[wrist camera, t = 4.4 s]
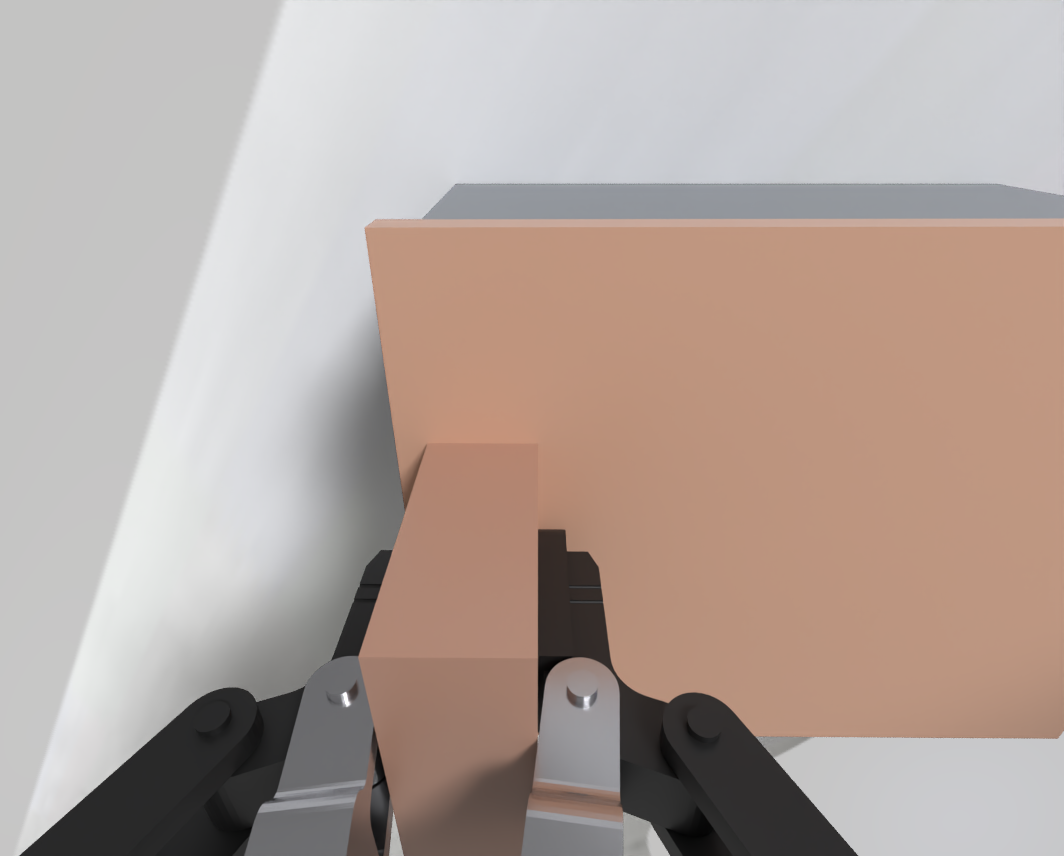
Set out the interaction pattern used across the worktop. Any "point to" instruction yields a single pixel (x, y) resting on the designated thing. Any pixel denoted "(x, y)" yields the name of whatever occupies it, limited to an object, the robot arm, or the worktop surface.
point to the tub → (745, 201)
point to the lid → (716, 483)
